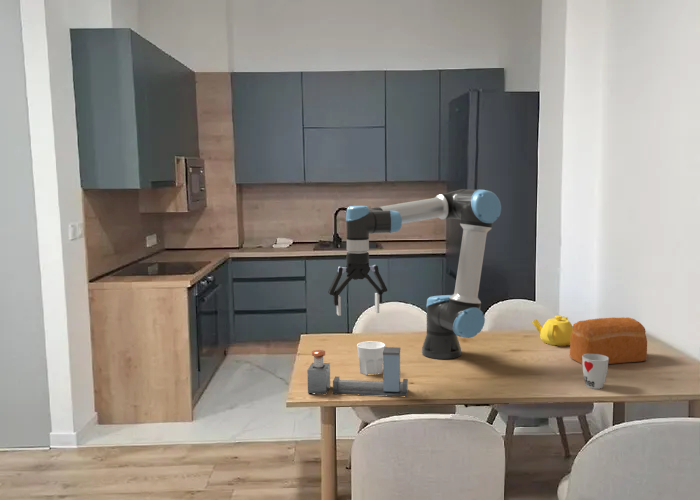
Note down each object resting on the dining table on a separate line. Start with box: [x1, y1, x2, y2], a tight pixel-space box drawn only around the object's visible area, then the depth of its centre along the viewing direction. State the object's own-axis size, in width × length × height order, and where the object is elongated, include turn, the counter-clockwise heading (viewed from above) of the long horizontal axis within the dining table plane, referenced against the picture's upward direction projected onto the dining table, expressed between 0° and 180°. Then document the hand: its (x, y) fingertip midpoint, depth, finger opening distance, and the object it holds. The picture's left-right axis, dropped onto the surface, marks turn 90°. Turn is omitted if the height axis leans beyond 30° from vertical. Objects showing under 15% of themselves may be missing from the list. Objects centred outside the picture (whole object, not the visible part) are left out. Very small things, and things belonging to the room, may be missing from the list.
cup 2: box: [582, 354, 609, 390], centre depth 213 cm, size 8×8×10 cm
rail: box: [331, 376, 409, 398], centre depth 211 cm, size 24×7×4 cm, turn 82°
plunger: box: [311, 349, 326, 368], centre depth 212 cm, size 4×4×9 cm
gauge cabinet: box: [307, 362, 331, 395], centre depth 213 cm, size 6×8×8 cm
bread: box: [569, 316, 648, 365], centre depth 242 cm, size 14×26×16 cm, turn 102°
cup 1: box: [356, 340, 386, 376], centre depth 231 cm, size 10×10×10 cm
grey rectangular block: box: [382, 346, 401, 392], centre depth 209 cm, size 5×6×13 cm
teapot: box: [531, 315, 573, 347], centre depth 268 cm, size 20×18×11 cm
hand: (358, 313), depth 220 cm, fingers open, 13 cm apart
